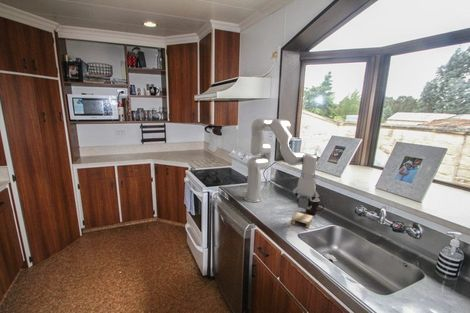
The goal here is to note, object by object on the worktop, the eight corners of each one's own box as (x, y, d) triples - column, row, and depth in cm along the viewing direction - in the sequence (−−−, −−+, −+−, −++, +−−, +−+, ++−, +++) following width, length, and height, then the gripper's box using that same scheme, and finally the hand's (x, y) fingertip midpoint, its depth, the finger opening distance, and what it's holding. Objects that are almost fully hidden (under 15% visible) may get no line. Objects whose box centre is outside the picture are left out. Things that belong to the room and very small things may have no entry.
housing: (301, 202, 146) (302, 192, 145) (310, 204, 144) (311, 194, 143) (297, 206, 139) (298, 196, 138) (307, 209, 137) (308, 198, 136)
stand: (291, 223, 142) (292, 217, 141) (295, 217, 151) (296, 211, 150) (308, 228, 137) (309, 222, 137) (311, 222, 146) (312, 215, 145)
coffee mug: (301, 211, 161) (303, 197, 159) (311, 210, 164) (313, 196, 162) (312, 218, 151) (314, 203, 149) (323, 217, 154) (325, 202, 152)
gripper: (324, 177, 138) (320, 206, 141) (294, 171, 145) (291, 200, 149) (322, 180, 131) (318, 211, 134) (291, 174, 139) (288, 203, 142)
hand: (304, 205), depth 142 cm, fingers closed on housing, 5 cm apart
